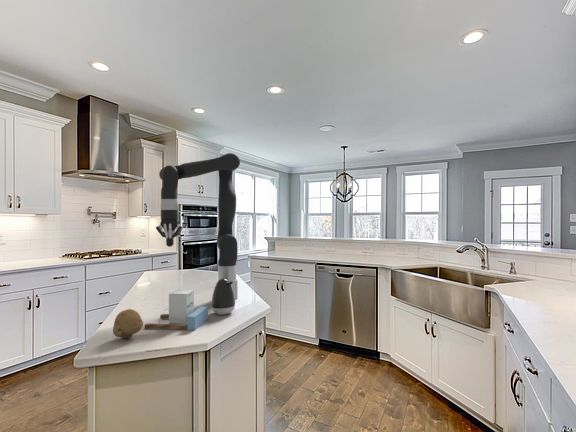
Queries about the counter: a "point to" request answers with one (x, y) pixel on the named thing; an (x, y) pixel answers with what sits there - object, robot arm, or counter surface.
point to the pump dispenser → (223, 297)
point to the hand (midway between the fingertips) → (170, 246)
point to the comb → (165, 325)
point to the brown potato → (127, 324)
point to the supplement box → (180, 306)
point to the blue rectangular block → (197, 318)
